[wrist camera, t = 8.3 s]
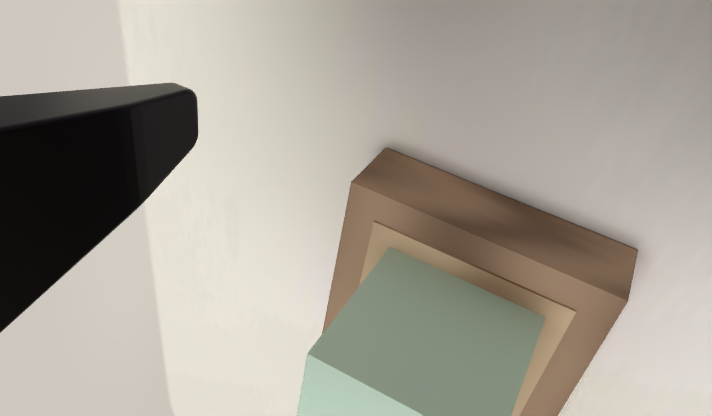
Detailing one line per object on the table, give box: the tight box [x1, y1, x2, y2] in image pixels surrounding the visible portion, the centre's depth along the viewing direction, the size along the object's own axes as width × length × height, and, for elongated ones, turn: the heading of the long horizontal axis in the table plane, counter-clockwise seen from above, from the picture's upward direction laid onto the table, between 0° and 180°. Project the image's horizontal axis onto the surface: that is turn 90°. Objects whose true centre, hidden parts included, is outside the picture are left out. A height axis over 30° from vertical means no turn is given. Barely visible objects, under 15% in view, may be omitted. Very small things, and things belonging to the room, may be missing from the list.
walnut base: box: [322, 148, 638, 416], centre depth 25 cm, size 10×10×3 cm
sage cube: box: [297, 247, 546, 416], centre depth 22 cm, size 6×6×6 cm
